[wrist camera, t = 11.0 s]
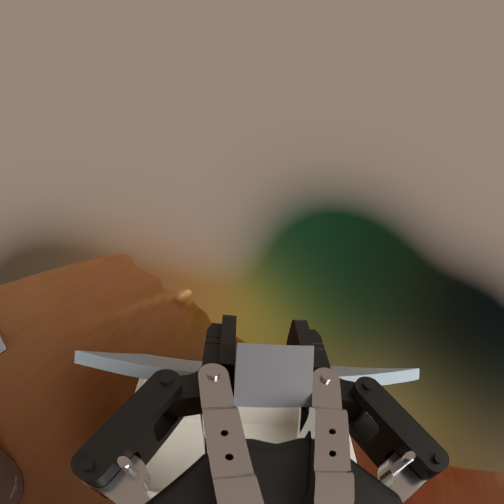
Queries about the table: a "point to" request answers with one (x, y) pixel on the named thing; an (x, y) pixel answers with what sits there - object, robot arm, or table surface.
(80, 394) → the table surface
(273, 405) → the lid
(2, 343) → the light bulb box
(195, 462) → the robot arm
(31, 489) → the table surface
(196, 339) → the table surface
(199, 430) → the carton
